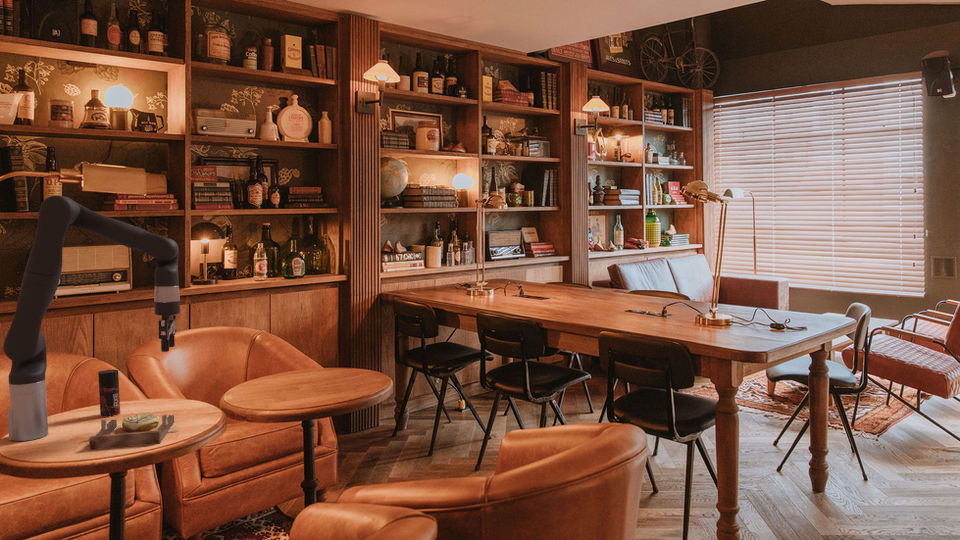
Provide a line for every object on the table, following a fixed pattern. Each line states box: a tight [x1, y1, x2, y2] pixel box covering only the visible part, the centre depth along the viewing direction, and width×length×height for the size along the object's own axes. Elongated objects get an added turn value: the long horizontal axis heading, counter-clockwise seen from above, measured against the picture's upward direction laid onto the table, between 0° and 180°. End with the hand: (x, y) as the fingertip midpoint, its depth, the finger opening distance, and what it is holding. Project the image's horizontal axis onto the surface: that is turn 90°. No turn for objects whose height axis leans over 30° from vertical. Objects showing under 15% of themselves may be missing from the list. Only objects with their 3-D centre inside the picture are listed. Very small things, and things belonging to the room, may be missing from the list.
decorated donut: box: [121, 413, 160, 433], centre depth 210 cm, size 10×11×4 cm
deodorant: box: [97, 369, 121, 417], centre depth 225 cm, size 6×6×15 cm
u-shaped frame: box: [89, 413, 178, 450], centre depth 202 cm, size 25×22×6 cm
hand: (168, 349), depth 214 cm, fingers open, 8 cm apart
